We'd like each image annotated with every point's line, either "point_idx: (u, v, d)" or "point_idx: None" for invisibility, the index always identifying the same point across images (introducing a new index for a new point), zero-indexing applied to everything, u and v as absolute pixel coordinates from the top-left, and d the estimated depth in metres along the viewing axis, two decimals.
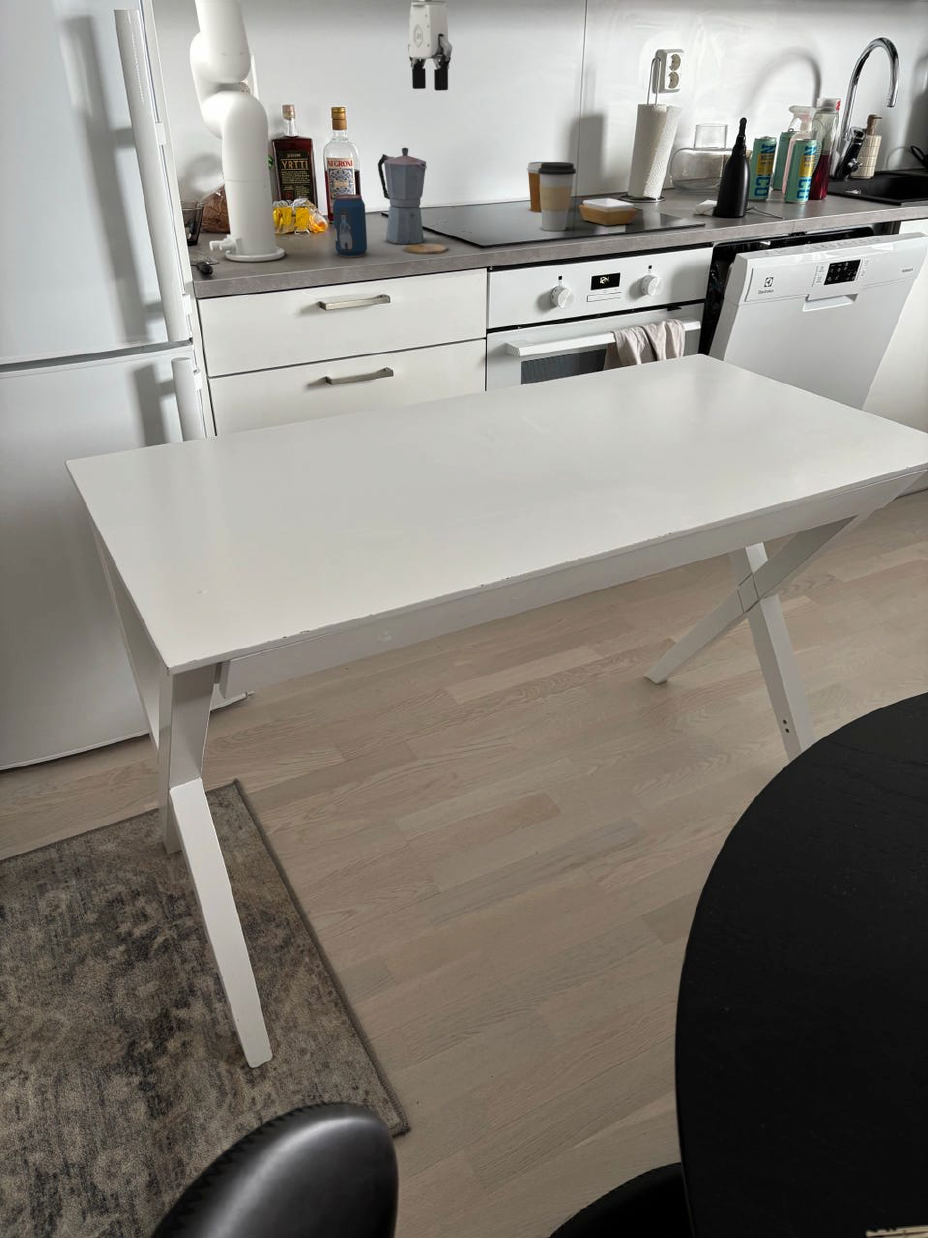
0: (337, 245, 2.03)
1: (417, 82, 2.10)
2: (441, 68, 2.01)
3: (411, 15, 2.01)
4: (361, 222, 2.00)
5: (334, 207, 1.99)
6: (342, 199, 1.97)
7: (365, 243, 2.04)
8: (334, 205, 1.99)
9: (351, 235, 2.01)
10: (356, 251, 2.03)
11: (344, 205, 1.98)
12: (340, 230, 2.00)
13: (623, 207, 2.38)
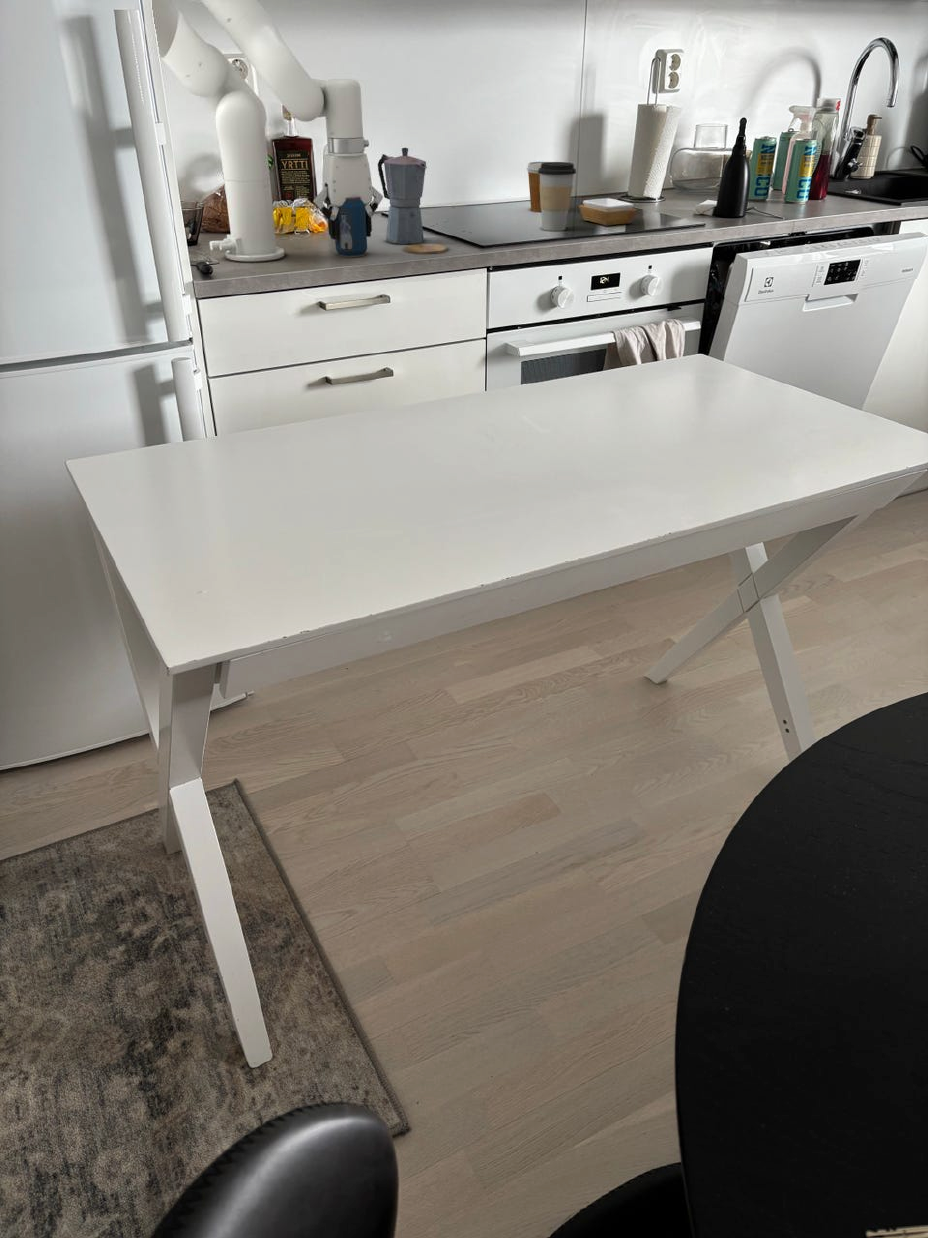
0: (337, 245, 2.03)
1: None
2: (327, 218, 2.00)
3: None
4: (361, 222, 2.00)
5: None
6: None
7: (366, 243, 2.04)
8: None
9: (351, 235, 2.01)
10: (356, 251, 2.03)
11: (344, 205, 1.98)
12: (340, 230, 2.00)
13: (623, 207, 2.38)
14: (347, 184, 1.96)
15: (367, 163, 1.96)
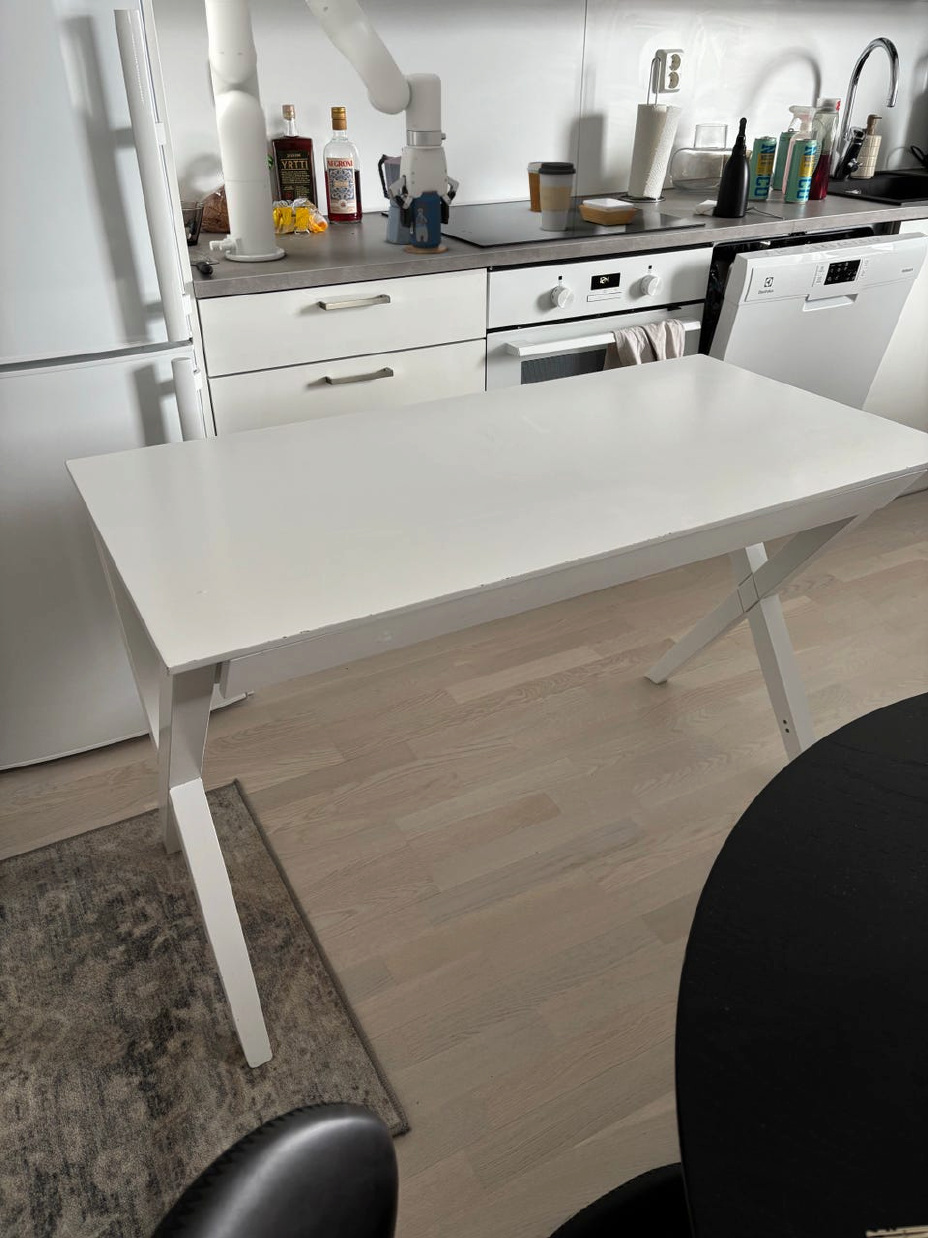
0: (412, 238, 2.08)
1: None
2: None
3: None
4: (437, 215, 2.05)
5: None
6: None
7: (440, 236, 2.09)
8: None
9: (427, 228, 2.05)
10: (431, 244, 2.07)
11: (421, 199, 2.02)
12: (416, 223, 2.05)
13: (623, 207, 2.38)
14: (425, 176, 2.01)
15: (444, 156, 2.01)
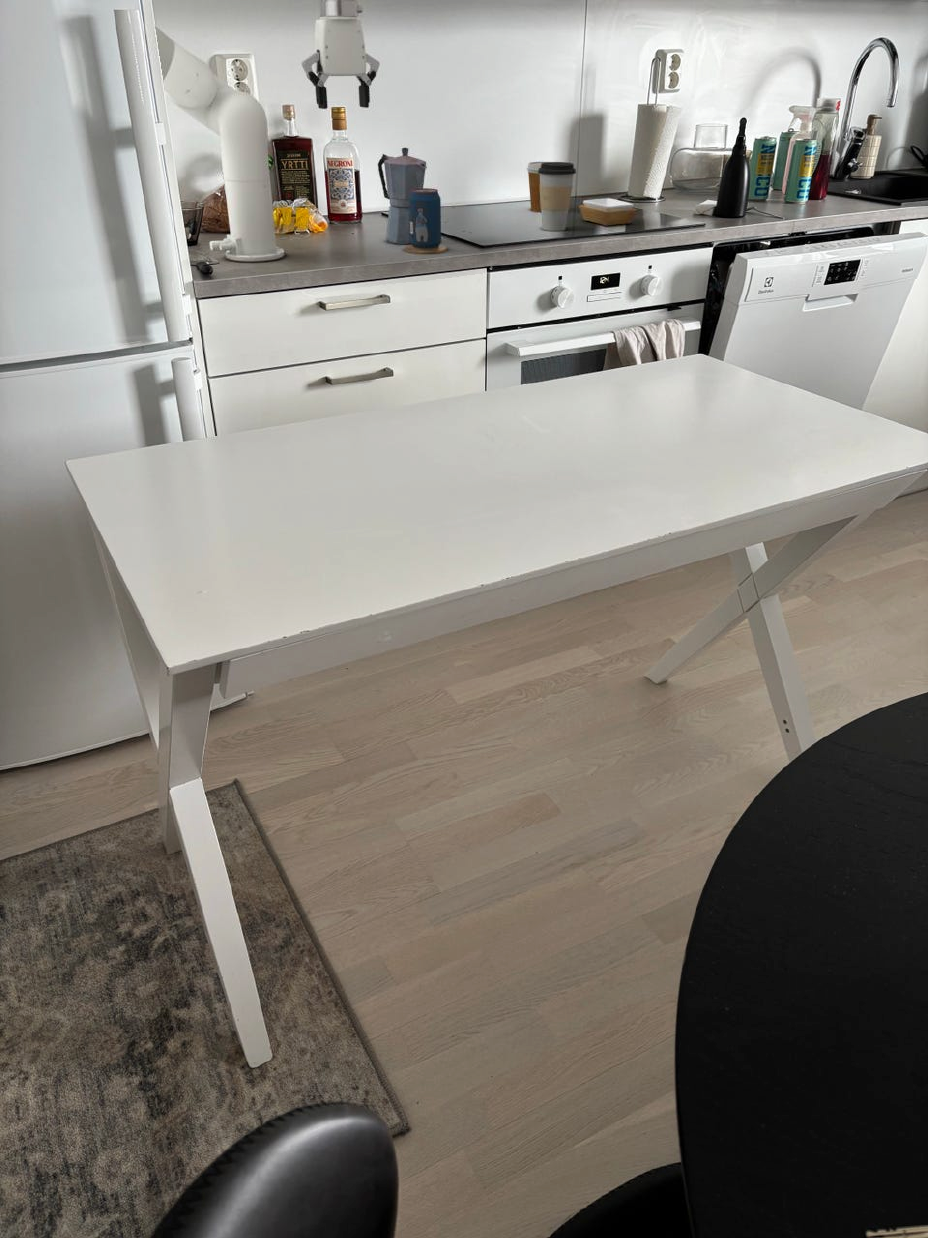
0: (412, 238, 2.08)
1: (360, 100, 1.98)
2: (315, 85, 1.92)
3: None
4: (437, 215, 2.05)
5: (411, 201, 2.04)
6: (419, 193, 2.02)
7: (440, 236, 2.09)
8: (411, 199, 2.04)
9: (427, 228, 2.05)
10: (431, 244, 2.07)
11: (421, 199, 2.02)
12: (416, 223, 2.05)
13: (623, 207, 2.38)
14: (340, 51, 1.89)
15: (361, 29, 1.90)
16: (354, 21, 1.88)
